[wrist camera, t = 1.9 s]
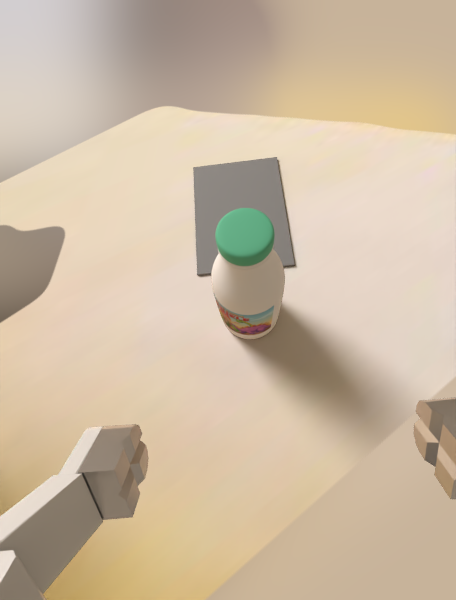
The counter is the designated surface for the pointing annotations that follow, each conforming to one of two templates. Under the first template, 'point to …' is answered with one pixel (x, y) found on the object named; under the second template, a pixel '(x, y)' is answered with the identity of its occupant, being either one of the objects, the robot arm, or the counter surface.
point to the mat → (238, 204)
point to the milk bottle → (247, 273)
